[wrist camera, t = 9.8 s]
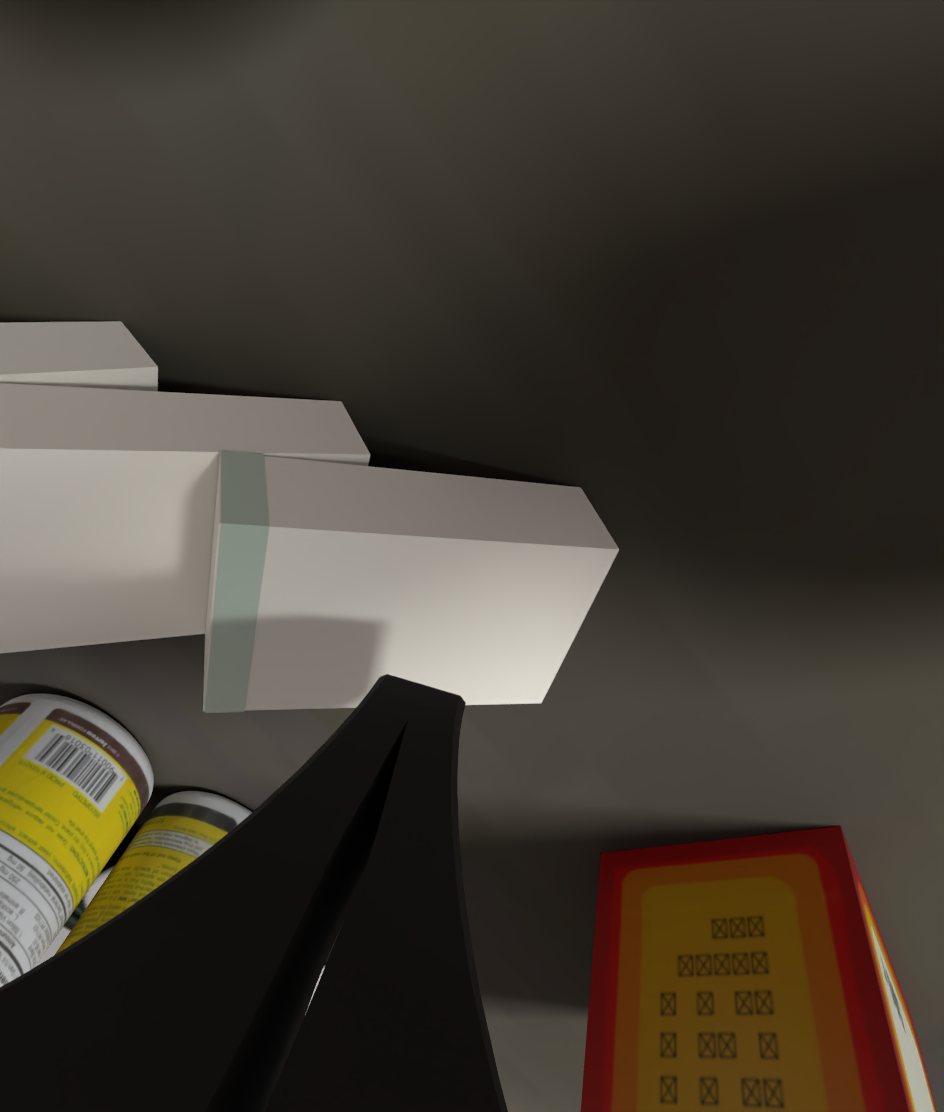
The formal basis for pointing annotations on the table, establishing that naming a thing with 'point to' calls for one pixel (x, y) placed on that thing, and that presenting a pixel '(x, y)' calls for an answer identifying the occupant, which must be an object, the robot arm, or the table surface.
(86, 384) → the domino
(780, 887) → the baking soda box
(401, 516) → the domino head
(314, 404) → the domino
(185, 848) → the supplement bottle
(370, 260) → the table surface
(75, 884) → the supplement bottle
